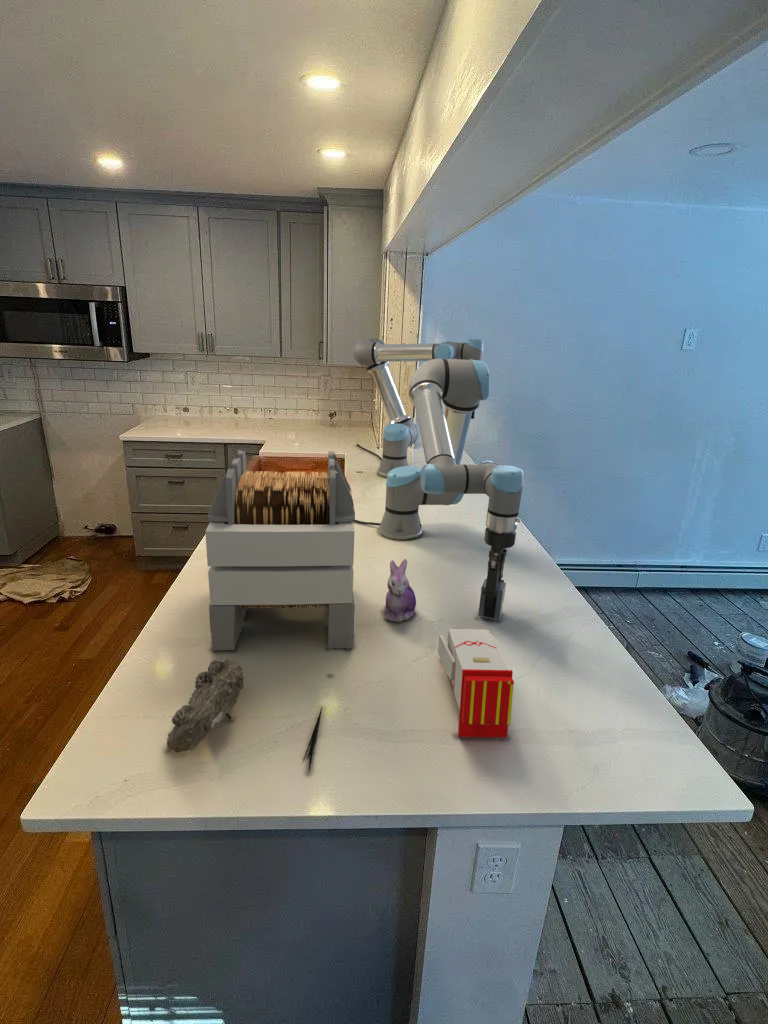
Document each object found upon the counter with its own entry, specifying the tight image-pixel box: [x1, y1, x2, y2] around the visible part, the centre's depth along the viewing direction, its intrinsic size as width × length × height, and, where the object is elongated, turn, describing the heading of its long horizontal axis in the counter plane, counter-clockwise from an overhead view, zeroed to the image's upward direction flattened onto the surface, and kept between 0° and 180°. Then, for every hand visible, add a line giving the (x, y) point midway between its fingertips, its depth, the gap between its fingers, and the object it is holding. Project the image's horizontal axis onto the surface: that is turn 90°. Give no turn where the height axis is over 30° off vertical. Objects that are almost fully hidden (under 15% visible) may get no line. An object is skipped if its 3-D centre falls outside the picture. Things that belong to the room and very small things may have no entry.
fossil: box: [166, 658, 245, 754], centre depth 106 cm, size 22×10×15 cm
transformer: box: [204, 449, 356, 652], centre depth 138 cm, size 34×33×41 cm
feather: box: [301, 673, 332, 771], centre depth 108 cm, size 2×28×2 cm
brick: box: [477, 578, 507, 621], centre depth 147 cm, size 5×6×9 cm
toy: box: [437, 628, 515, 738], centre depth 117 cm, size 12×13×30 cm
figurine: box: [384, 558, 417, 623], centre depth 145 cm, size 9×10×15 cm
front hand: (490, 610), depth 148 cm, fingers closed on brick, 5 cm apart
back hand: (468, 420), depth 264 cm, fingers open, 13 cm apart
